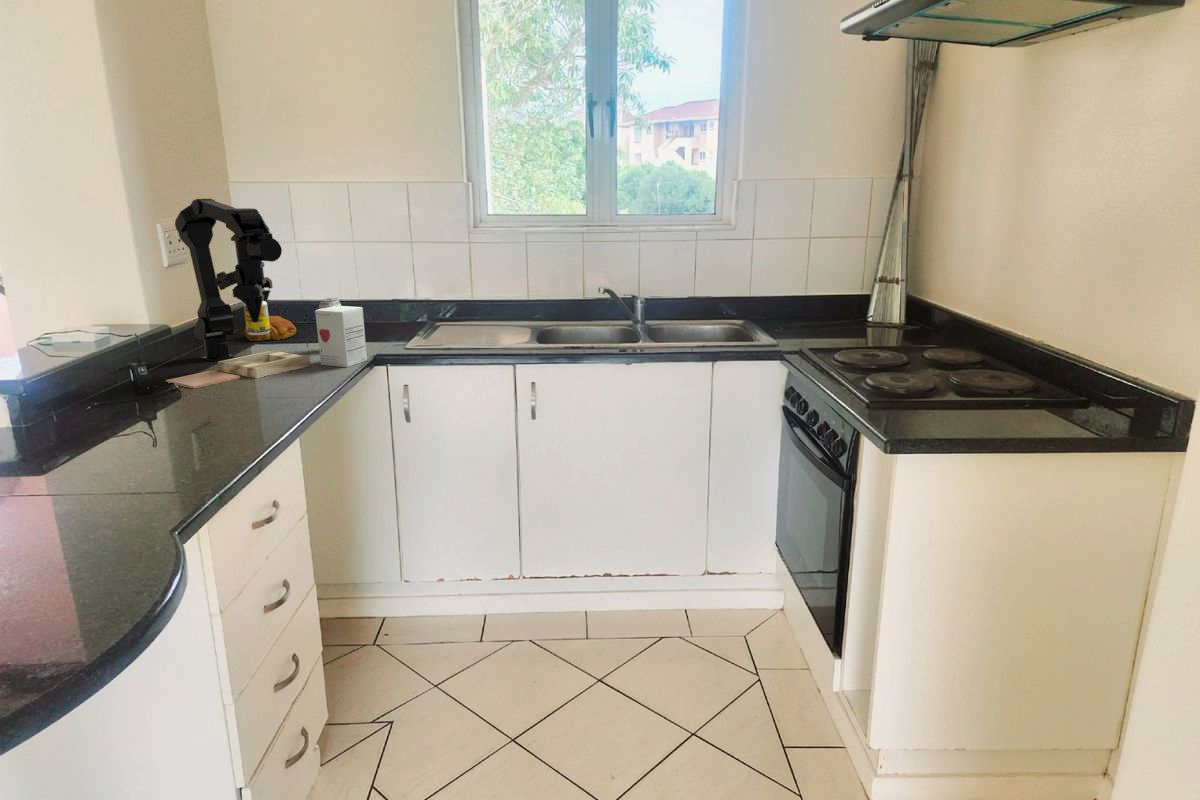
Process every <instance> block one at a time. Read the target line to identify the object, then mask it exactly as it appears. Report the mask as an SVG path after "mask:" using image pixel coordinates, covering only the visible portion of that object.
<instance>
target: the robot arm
mask: <svg viewBox="0 0 1200 800" xmlns="http://www.w3.org/2000/svg"><path fill="white" fill-rule="evenodd" d="M217 221H218V222H221V223H223V224H225V228H226V229H228V230H229V231H231V232H232V233H234V234H233V235H232V236H231V238H230V241H231V242H234V245H235V253H236V258H237V259H236V260H237V264H235V267H234V269H235V270H233V271H230V272H228V273H227V272H225V271H221V272H218V273H216V272H215V266H214V262H213V259H212V254H211V248H210V244H211V242H212V239H213V236H214V232H213V228H214V227H215V224H216V223H217ZM174 225H175V226H174V227H175V230H176V231H177V234H178V236H179V238H180V240H181V242H183V244H184V245H185V246H186V247H187V248H188V249H189V254H190V259H191V262H192V266H193V271H194V275H195V279H196V284H197V287H198V292H199V297H200V304H199V307H198V309H197V318H198V319H197V322H196V324H195V327H193V328H194V329H193V334H194V336H195V339H198V340H203V341H202V342H203V347H204V356H200V359H201V360H206V361H211V362H218V361H223V360H228V359H232V358H236V357H235V354H232V353H231V354H230V350H229V349H230V348H229V343H228V338H227V336H233V335H234V333H235V332H234V328H235V319H234V316H233V313H232V312H233V311H232V308H231V305H230V304H229V303H226V302H225V301H223V300H222V298H221V294H220V291H223V290H225V289H227V288H229V287H230V286H233V285H235V287H233V289H232V297H233V298H236V299H237V300H239V301H241V302H242V303H243V304H244V303H245V305H246V307H247V309H248V311H249V314H250V316H251V319H252V321H253V322H258V319H259V315H260V311H261V306H262V302H263V301H265V302H267V303H268V300H269V296H270V294H271V292H272V291H271V290H270V289H273V288H274V287H273V280H272V279H271V278H270V277H267V276H266V277H265V274H264V267H265V262H270V263H271V262H276V261H278V260H279V259H280V258H281V255H282V250H283V249H282V246H281V245H280V243H279V241H278V240H276V239H275V238H273V233H271V232H270V228H269V227H268V225H267V224H266V222H265V221H264V219H263V217H262V215H261V214H260V212H259V211H258V210H257V209H256V208H251V207H250V208H248V207H247V208H244V207H243V208H241V207H239V208H238V207H234V206H231V205H228V204H225V203H223V202H219V201H216V200H215V199H212V198H195V199H193V200H192V201H191V203H190V205H188V206H186V207H185V208H184V209H182V210H180V212H179V213H178V215H177V216H176V218H175V222H174ZM266 288H267V289H266Z"/></svg>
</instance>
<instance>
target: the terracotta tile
mask: <svg viewBox="0 0 1200 800" xmlns="http://www.w3.org/2000/svg"><path fill="white" fill-rule="evenodd" d="M237 379H241V375H237V374H232V373H227V372H222V371H217V370H214V369H213V370H207V371H202V372H198V373H193V374H189V375H183V376H180V377H174V378H170V379H165V383H166V382H168V383H167V384H170V383H174V384H173V385H175V384H176V386H179V387H180V386H181V387H184V388H185V387H186V388H190V389H199V388H203V387H208V386H213V385H215V384H216V385H217V384H222V383H226V382H228V381H235V380H237Z"/></svg>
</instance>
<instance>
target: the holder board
mask: <svg viewBox="0 0 1200 800" xmlns="http://www.w3.org/2000/svg"><path fill="white" fill-rule="evenodd" d="M310 357H311V356H307V355H301V354H296V353H295V354H294V353H289V352H284V351H283V352H282V351H276V350H268V351H263V352H258V353H253V354H250V355H244V356H239V357H232V358H228V359H223V360H218V361H217V363H218V370H219V371H218V372H223V373H228V374H233V375H238V376H243V377H248V378H253V379H260V377H261V378H264V376H265V377H269V376H274V375H277V374H281V372H282V373H285V372H290V370H291V371H294V370H299V369H303V368H306V367H311V358H310ZM273 374H274V375H273ZM268 375H269V376H268Z"/></svg>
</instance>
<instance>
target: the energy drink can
mask: <svg viewBox="0 0 1200 800" xmlns="http://www.w3.org/2000/svg"><path fill="white" fill-rule="evenodd" d="M332 306H342V304H341V302H340V300H339V298H337V297H327V298H326V297H325V298H321V299H320V302H319V305H318V309H323V308H328V307H332Z"/></svg>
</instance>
